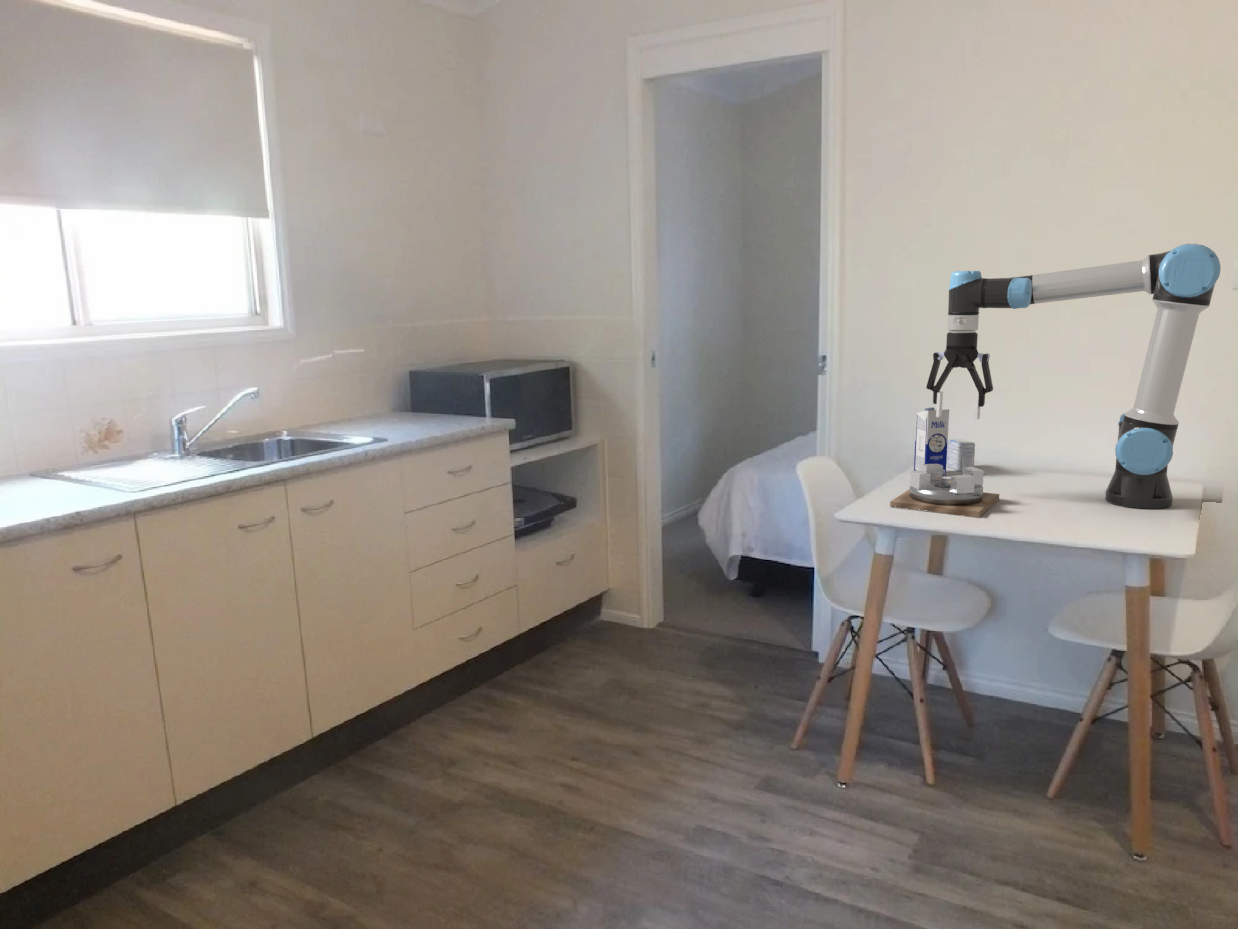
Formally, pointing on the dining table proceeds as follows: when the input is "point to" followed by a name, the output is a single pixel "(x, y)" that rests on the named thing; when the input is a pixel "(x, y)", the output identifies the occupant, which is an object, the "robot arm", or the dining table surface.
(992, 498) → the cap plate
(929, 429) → the milk carton
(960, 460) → the medicine box
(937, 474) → the notched metal disc
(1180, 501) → the dining table surface
